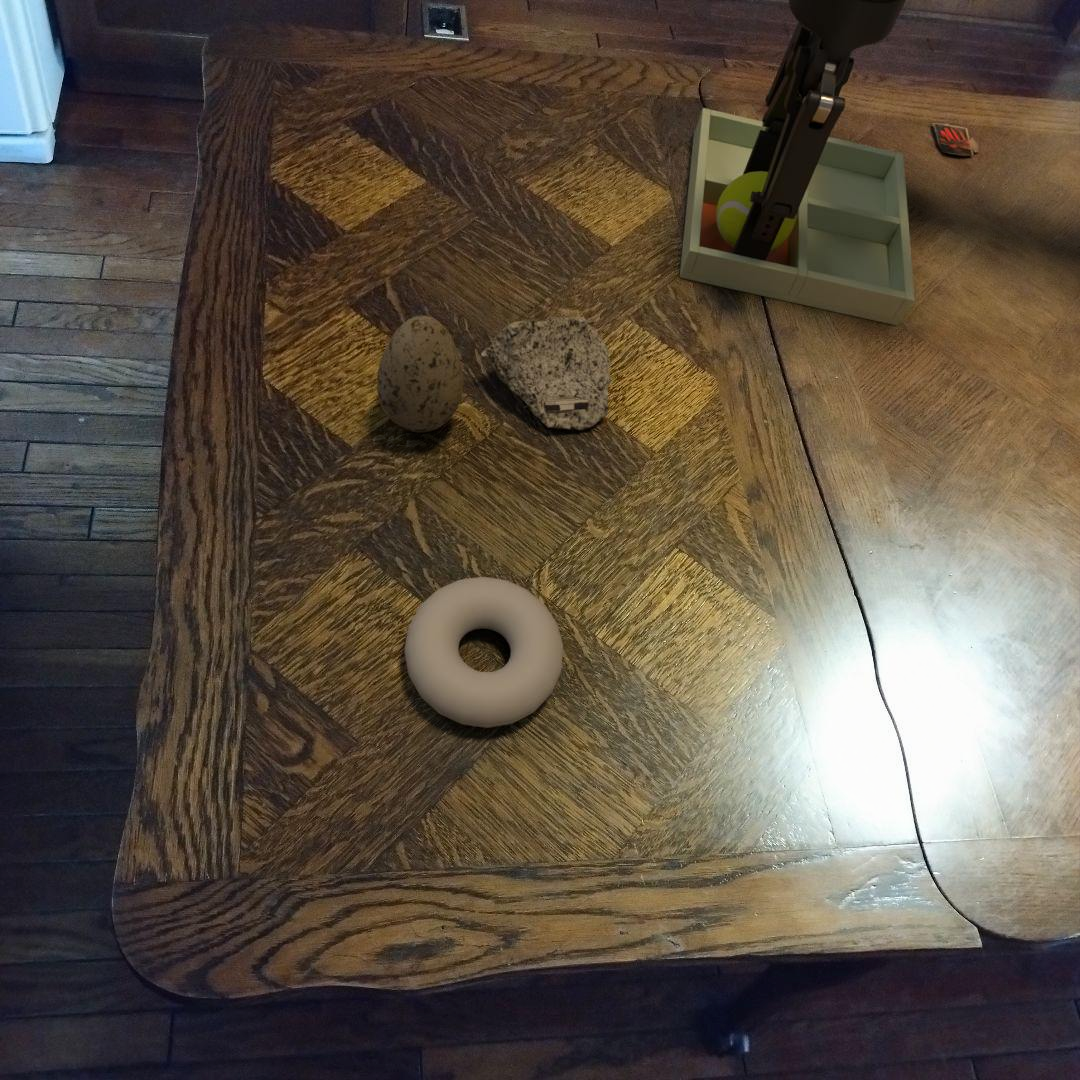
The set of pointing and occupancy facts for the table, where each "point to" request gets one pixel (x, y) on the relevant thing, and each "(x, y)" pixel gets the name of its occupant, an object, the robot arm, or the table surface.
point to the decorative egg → (420, 376)
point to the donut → (473, 691)
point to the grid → (807, 227)
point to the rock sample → (555, 369)
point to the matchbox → (955, 140)
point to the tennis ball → (744, 208)
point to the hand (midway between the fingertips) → (748, 228)
